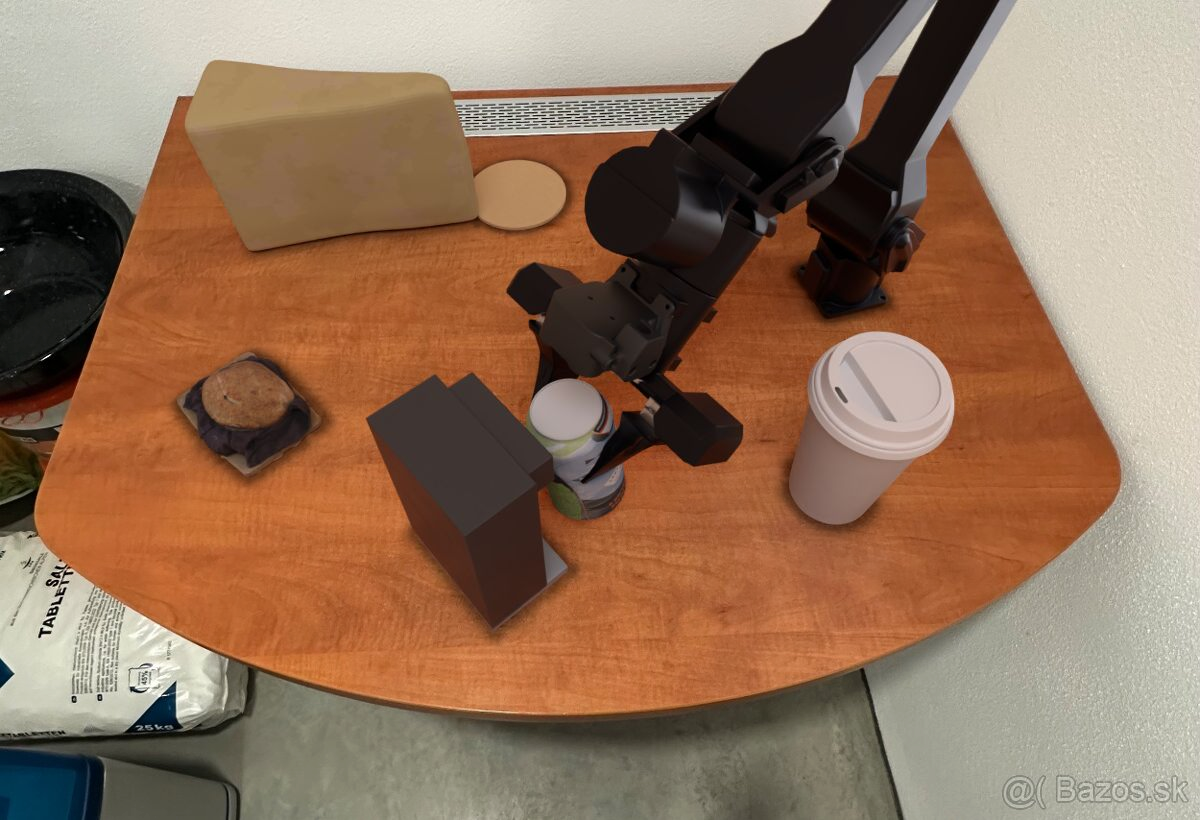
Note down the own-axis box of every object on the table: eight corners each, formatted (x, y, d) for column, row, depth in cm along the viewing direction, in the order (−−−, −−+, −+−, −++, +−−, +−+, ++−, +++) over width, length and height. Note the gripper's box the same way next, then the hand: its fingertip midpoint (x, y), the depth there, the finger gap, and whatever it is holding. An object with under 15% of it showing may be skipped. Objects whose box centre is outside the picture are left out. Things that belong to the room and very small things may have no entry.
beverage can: (618, 532, 61) (627, 460, 51) (524, 517, 62) (513, 441, 51) (630, 460, 64) (640, 378, 54) (540, 446, 65) (534, 362, 54)
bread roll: (172, 407, 67) (152, 381, 64) (259, 349, 70) (243, 323, 67) (241, 485, 63) (223, 463, 60) (330, 421, 66) (317, 396, 63)
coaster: (550, 155, 85) (550, 152, 85) (578, 218, 80) (578, 215, 80) (458, 173, 83) (457, 170, 83) (480, 239, 78) (480, 236, 78)
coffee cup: (764, 434, 66) (807, 318, 54) (879, 438, 66) (949, 324, 54) (774, 540, 61) (824, 440, 49) (899, 545, 61) (981, 446, 49)
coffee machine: (488, 481, 64) (461, 356, 50) (568, 571, 60) (564, 463, 46) (414, 533, 61) (365, 417, 47) (493, 631, 57) (464, 536, 43)
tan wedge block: (482, 181, 82) (460, 46, 69) (476, 251, 77) (452, 118, 64) (265, 186, 82) (204, 50, 69) (245, 255, 76) (174, 123, 64)
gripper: (517, 166, 48) (400, 368, 54) (741, 354, 41) (579, 568, 46) (611, 204, 58) (504, 374, 63) (807, 363, 50) (667, 540, 56)
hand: (556, 454), depth 57 cm, fingers closed on beverage can, 5 cm apart
